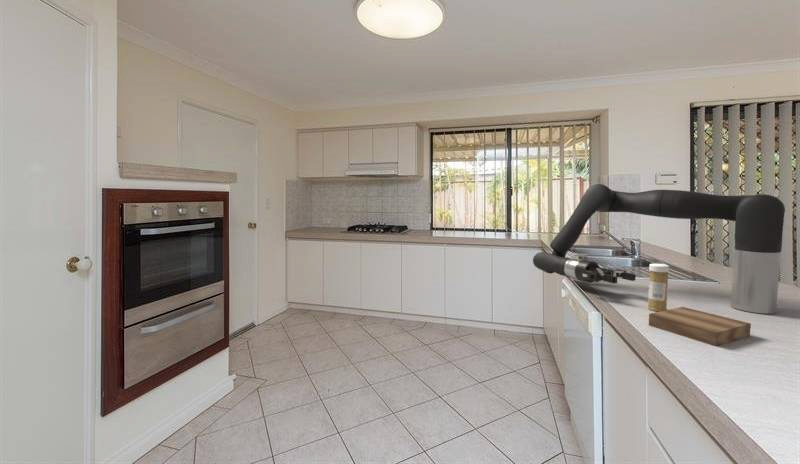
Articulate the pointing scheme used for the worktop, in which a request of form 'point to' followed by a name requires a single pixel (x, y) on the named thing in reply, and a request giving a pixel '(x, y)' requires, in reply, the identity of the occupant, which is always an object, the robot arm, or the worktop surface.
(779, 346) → the worktop surface
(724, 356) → the worktop surface
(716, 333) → the walnut base
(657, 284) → the spice jar
